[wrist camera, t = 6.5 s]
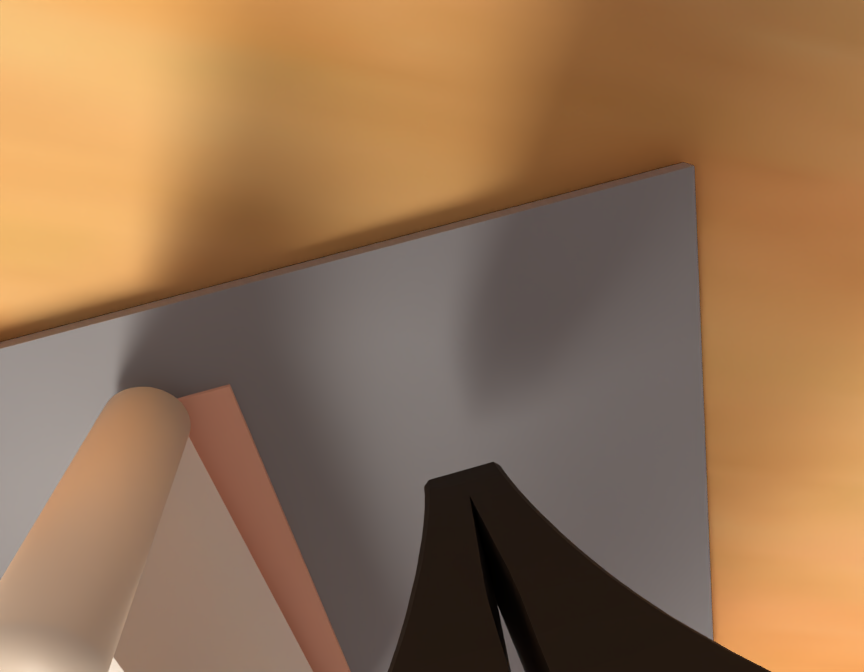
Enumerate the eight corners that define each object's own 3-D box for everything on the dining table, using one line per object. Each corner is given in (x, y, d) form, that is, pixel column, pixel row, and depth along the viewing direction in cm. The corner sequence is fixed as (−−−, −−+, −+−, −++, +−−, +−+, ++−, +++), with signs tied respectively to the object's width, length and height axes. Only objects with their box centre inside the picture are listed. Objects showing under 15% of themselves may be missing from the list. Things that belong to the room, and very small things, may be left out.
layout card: (57, 958, 20) (51, 979, 20) (-459, 463, 12) (-491, 479, 11) (711, 757, 21) (720, 772, 21) (683, 162, 13) (697, 166, 12)
